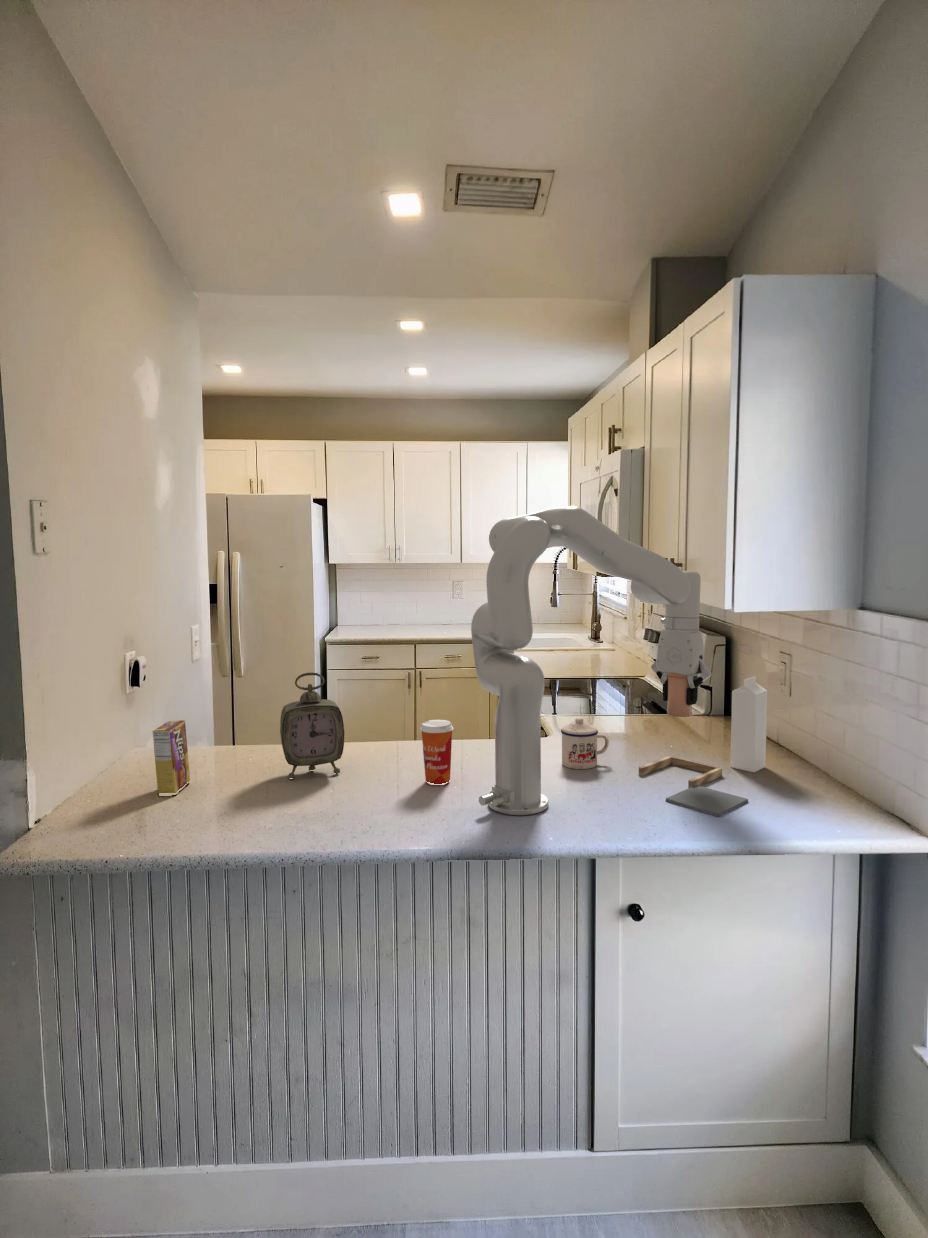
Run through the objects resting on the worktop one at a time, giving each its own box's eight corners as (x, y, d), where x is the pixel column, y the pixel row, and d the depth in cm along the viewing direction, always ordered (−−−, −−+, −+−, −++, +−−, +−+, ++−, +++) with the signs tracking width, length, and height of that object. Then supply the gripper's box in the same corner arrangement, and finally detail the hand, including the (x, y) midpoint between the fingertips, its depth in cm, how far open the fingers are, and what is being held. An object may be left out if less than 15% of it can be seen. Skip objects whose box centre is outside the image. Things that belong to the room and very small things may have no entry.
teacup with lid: (566, 771, 167) (566, 723, 166) (556, 760, 176) (556, 715, 175) (614, 768, 169) (614, 721, 168) (602, 757, 178) (602, 712, 177)
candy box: (172, 783, 163) (168, 720, 162) (190, 783, 163) (187, 719, 162) (156, 797, 154) (151, 730, 153) (175, 796, 154) (171, 729, 153)
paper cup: (415, 784, 159) (413, 725, 158) (432, 775, 166) (430, 717, 165) (444, 789, 156) (443, 728, 154) (460, 779, 162) (459, 721, 161)
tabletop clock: (283, 783, 162) (279, 677, 160) (281, 771, 171) (277, 671, 168) (345, 776, 167) (342, 673, 164) (340, 765, 175) (337, 667, 173)
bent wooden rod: (692, 789, 153) (692, 781, 153) (638, 774, 164) (638, 767, 164) (723, 775, 162) (723, 768, 162) (670, 762, 173) (670, 755, 172)
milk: (765, 767, 168) (768, 677, 166) (754, 773, 164) (757, 681, 162) (741, 762, 172) (743, 674, 170) (729, 767, 168) (732, 677, 166)
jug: (683, 718, 157) (685, 674, 156) (661, 714, 161) (662, 671, 161) (702, 713, 162) (703, 671, 161) (680, 709, 167) (681, 668, 166)
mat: (718, 816, 137) (718, 814, 137) (665, 801, 146) (665, 798, 146) (747, 801, 145) (748, 799, 145) (695, 787, 154) (695, 785, 154)
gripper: (640, 622, 163) (638, 698, 165) (707, 628, 150) (705, 710, 152) (658, 621, 168) (656, 694, 170) (725, 626, 155) (722, 706, 157)
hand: (679, 701), depth 161 cm, fingers closed on jug, 5 cm apart
